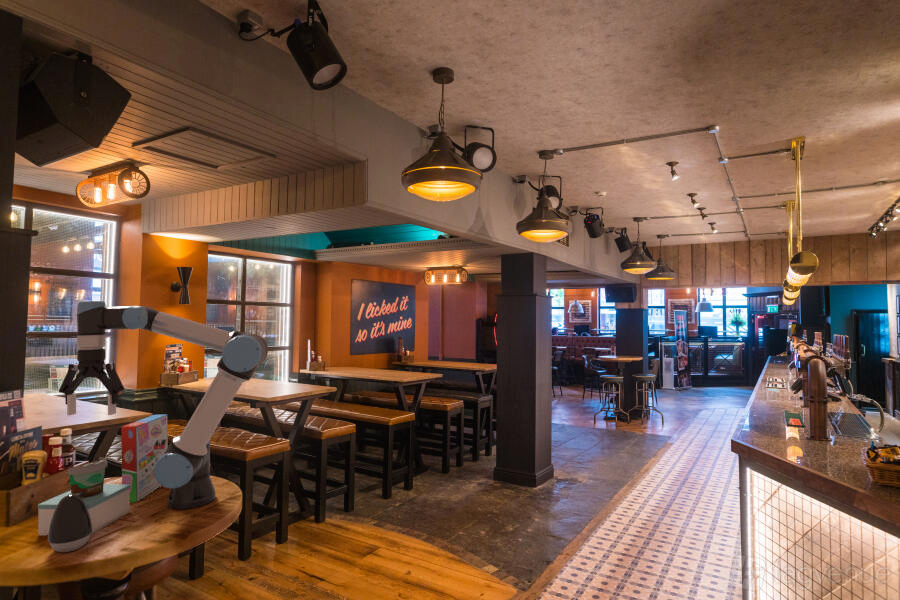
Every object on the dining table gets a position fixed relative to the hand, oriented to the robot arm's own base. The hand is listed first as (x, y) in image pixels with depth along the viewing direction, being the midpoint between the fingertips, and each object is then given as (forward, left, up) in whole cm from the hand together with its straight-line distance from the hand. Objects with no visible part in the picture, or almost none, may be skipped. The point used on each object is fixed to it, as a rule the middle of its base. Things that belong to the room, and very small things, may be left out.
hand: (91, 414), depth 165 cm
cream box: (+2, 0, -35) cm, 35 cm away
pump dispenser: (-7, +17, -35) cm, 39 cm away
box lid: (+2, 0, -27) cm, 27 cm away
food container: (0, 0, -26) cm, 26 cm away
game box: (+1, -28, -35) cm, 45 cm away
